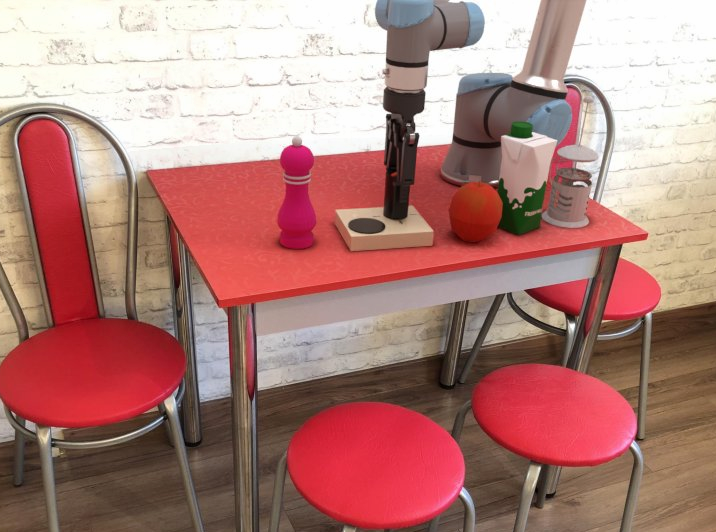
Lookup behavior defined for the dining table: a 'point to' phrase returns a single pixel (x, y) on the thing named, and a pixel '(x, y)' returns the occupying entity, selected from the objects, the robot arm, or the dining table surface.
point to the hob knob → (390, 194)
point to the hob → (394, 236)
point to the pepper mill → (296, 197)
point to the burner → (366, 225)
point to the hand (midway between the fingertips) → (395, 210)
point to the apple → (475, 211)
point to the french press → (571, 186)
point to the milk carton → (523, 177)
